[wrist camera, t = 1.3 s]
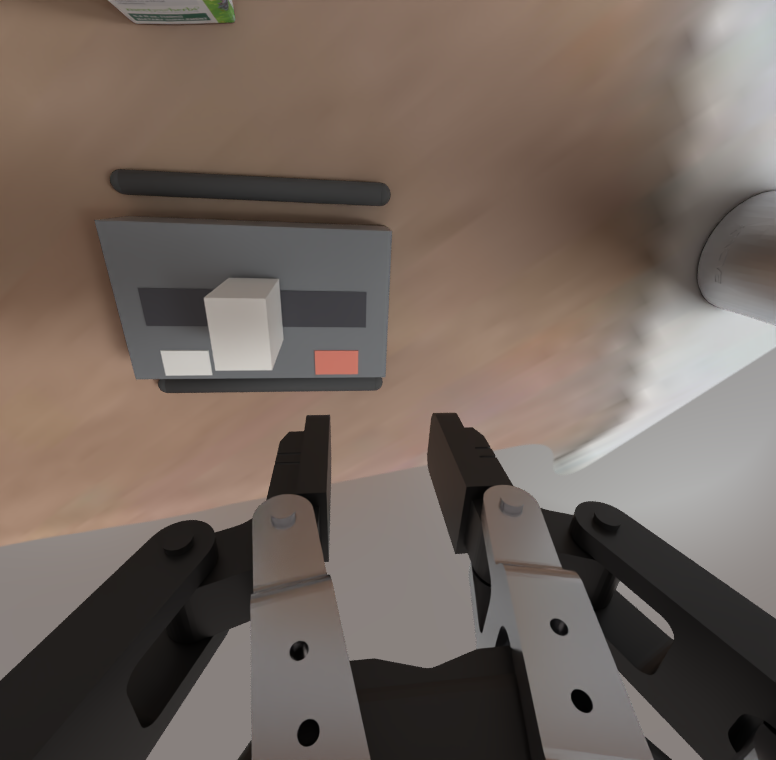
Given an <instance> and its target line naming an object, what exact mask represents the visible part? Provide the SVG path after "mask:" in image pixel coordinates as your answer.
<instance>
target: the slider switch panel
mask: <svg viewBox="0 0 776 760" xmlns="http://www.w3.org/2000/svg"><path fill="white" fill-rule="evenodd" d="M110 182H111V185H112V186H113V188H114V189H115V190H116V191H118V192H119V193H122V194H126V195H148V196H170V197H192V198H215V199H237V200H259V201H281V202H304V203H326V204H348V205H371V206H383V205H385V204H386V203H388V201H389V199H390V195H391V194H390V190H389V188H388V186H387V185H385V184H383V183H374V182H355V181H336V180H317V179H298V178H278V177H259V176H240V175H221V174H201V173H182V172H163V171H144V170H125V169H118V170H115V171H113V172H112V174H111V176H110ZM382 383H383V381H382V378H381V377H347V378H226V379H160V380H159V382H158V386H159V388H160V390H161V391H163V392H165V393H209V392H290V391H371V390H378V389H379V388H380V387H381V386H382Z"/></svg>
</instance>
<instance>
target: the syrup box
mask: <svg viewBox="0 0 776 760" xmlns="http://www.w3.org/2000/svg"><path fill="white" fill-rule="evenodd" d="M108 1H109V2H110V3H111V4H113V5H114V6H115V7H116V8H117V9H118V10H119V11H120V12H122V13H123V14H124V15H125V16H126V17H127V18H129V19H130V20H131V21H132V22H134V23H136V24H199V23H225V22H230V23H232V22H235V15H234V9H233V3H232V0H108Z"/></svg>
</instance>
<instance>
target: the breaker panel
mask: <svg viewBox="0 0 776 760" xmlns="http://www.w3.org/2000/svg"><path fill="white" fill-rule="evenodd" d="M95 224H96V228H97V232H98V236H99V239H100V243H101V247H102V251H103V255H104V259H105V262H106V266H107V270H108V274H109V278H110V282H111V285H112V289H113V293H114V297H115V301H116V305H117V308H118V312H119V316H120V320H121V324H122V328H123V331H124V335H125V339H126V343H127V347H128V351H129V354H130V358H131V362H132V366H133V370H134V374H135V377H136V379H226V378H347V377H385V374H386V352H387V330H388V308H389V286H390V264H391V242H392V231H391V230H390V229H389V228H387V227H386V226H376V225H350V224H324V223H298V222H272V221H247V220H221V219H195V218H169V217H143V216H124V217H116V218H108V219H100V220H95ZM228 278H267V279H279V286H280V299H281V312H282V325H283V339H284V340H283V342H282V345H281V348H280V350H279V353H278V356H277V358H276V361H275V364H274V367H273V369H272V370H235V371H215V365H214V359H213V352H212V346H211V340H210V334H209V328H208V321H207V315H206V309H205V303H204V297H205V296H207V295H208V294H209V293H210V292H212V291H213V290H214V289H215V288H217V287H218V286H219V285H220V284H222V283H223V282H224V281H225V280H227V279H228Z"/></svg>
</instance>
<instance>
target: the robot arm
mask: <svg viewBox="0 0 776 760" xmlns="http://www.w3.org/2000/svg"><path fill="white" fill-rule="evenodd" d="M698 283H699V288H700V290H701V293H702V295H703V296H704V297H705V299H706V300H707V301H708V302H709V303H711V304H712V305H714V306H716V307H719V308H722V309H725V310H728V311H732V312H735V313H738V314H741V315H744V316H748V317H751V318H754V319H757V320H760V321H763V322H766V323H769V324H772V325H776V190H775V191H770V192H764V193H761V194H759V195H756V196H754V197H751V198H749V199H748V200H746V201H744V202H743V203H741V204H740V205H738V206H737V207H736V208H734V209H733V210H732V211H731V212H730V213H729V214H727V215H726V216H725V218H724V219H723V220H722V221H721V222H720V223H719V224H718V225H717V227H716V228H715V230H714V231H713V233H712V234H711V236H710V237H709V239H708V241H707V243H706V245H705V247H704V249H703V251H702V254H701V258H700V261H699V266H698ZM427 461H428V469H429V473H430V476H431V479H432V482H433V486H434V489H435V492H436V495H437V498H438V501H439V505H440V508H441V511H442V514H443V517H444V520H445V523H446V526H447V529H448V533H449V536H450V539H451V542H452V545H453V548H454V551H455V554H462V553H468V555H469V557H470V560H471V563H470V569H469V582H470V592H471V601H472V610H473V618H474V628H475V637H476V650H474V651H472V652H469V653H467V654H464V655H462V656H460V657H458V658H455V659H453V660H450V661H448V662H445V663H443V664H441V665H439V666H436V667H433V668H422V667H416V666H411V665H406V664H401V663H394V662H390V661H384V660H379V659H364V660H354V661H349V657H348V653H347V649H346V643H345V639H344V634H343V629H342V625H341V620H340V615H339V611H338V606H337V602H336V597H335V592H334V588H333V583H332V580H331V577H330V575H327V572H326V568H325V563H324V562H328V561H329V533H330V497H331V496H330V495H331V430H330V415H307V416H306V423H305V430H304V431H298V432H289V433H288V434H287V435H286V436H285V437H284V438H283V439H282V440H281V441H280V444H279V448H278V452H277V457H276V461H275V465H274V469H273V474H272V478H271V482H270V487H269V491H268V495H267V500H266V501H265V502H263V503H262V504H261V505H259V507H258V508H257V509H256V510H255V512H254V514H253V518H252V519H250V520H249V521H247V522H245V523H243V524H241V525H238V526H235V527H232V528H229V529H225V530H222V531H219V532H215V533H214V530H213V528H212V527H211V526H210V525H209V524H207V523H205V522H202V521H197V520H187V521H181V522H178V523H175V524H172V525H170V526H168V527H166V528H164V529H162V530H160V531H159V532H158V533H156V534H155V535H154V536H153V537H152V538H151V539H150V540H148V541H147V542H146V543H145V544H144V545H143V546H142V547H141V548H140V549H139V550H138V551H137V552H136V553H135V554H134V555H133V556H131V557H130V558H129V559H128V560H127V561H126V562H125V563H124V564H123V565H122V566H121V567H120V568H119V569H118V570H117V571H116V572H115V573H114V574H112V576H110V577H109V578H108V579H107V580H106V581H105V582H104V583H103V584H102V585H101V586H100V587H99V588H98V589H97V590H96V591H95V592H94V593H92V594H91V596H90V597H88V598H87V599H86V600H85V601H84V602H83V603H82V604H81V605H80V606H79V607H78V608H77V609H76V610H75V611H73V612H72V613H71V614H70V615H69V616H68V617H67V618H66V619H65V620H64V621H63V622H62V623H61V624H60V625H59V626H58V627H57V628H56V629H55V630H53V631H52V632H51V633H50V634H49V635H48V636H47V637H46V638H45V639H44V640H43V641H42V642H41V643H40V644H39V645H38V646H37V647H36V648H35V649H33V650H32V651H31V652H30V653H29V654H28V655H27V656H26V657H25V658H24V659H23V660H22V661H21V662H20V663H19V664H18V665H17V666H16V667H15V668H13V669H12V670H11V671H10V672H9V673H8V674H7V675H6V676H5V677H4V678H3V679H2V680H1V681H0V760H146V758H147V757H148V755H149V754H150V752H151V750H152V749H153V747H154V746H155V744H156V743H157V741H158V740H159V738H160V737H161V735H162V734H163V732H164V731H165V729H166V727H167V726H168V724H169V723H170V721H171V720H172V718H173V717H174V715H175V714H176V712H177V711H178V709H179V707H180V706H181V704H182V703H183V701H184V699H185V698H186V697H187V695H188V693H189V692H190V690H191V689H192V687H193V686H194V684H195V683H196V681H197V680H198V678H199V677H200V675H201V674H202V672H203V670H204V669H205V667H206V666H207V664H208V663H209V661H210V660H211V658H212V656H213V655H214V653H215V652H216V650H217V649H218V647H219V646H220V644H221V643H222V641H223V640H224V638H225V636H226V635H227V633H228V631H229V629H231V628H233V627H236V626H238V625H241V624H243V623H246V622H248V621H251V725H252V728H251V729H252V740H251V741H250V743H249V744H248V746H247V747H246V748H245V750H244V751H243V753H242V754H241V755H240V757H239V758H238V760H672V759H670V758H669V757H668V756H667V755H666V754H664V753H663V752H662V751H661V750H660V749H659V748H657V747H656V746H655V745H654V744H653V743H652V742H651V741H649V740H648V739H647V738H646V737H645V736H644V734H643V732H642V729H641V727H640V724H639V721H638V719H637V716H636V714H635V712H634V709H633V707H632V704H631V702H630V699H629V697H628V694H627V692H626V689H625V687H624V685H623V682H622V679H621V677H620V674H619V672H620V673H621V674H622V675H623V676H624V677H625V678H626V679H627V680H628V681H629V682H630V684H631V685H632V686H634V688H635V689H636V690H637V691H638V692H639V693H640V694H641V695H642V696H643V697H644V698H645V699H646V700H647V701H648V702H649V703H650V704H651V705H652V706H653V708H654V709H655V710H656V711H657V712H658V713H659V714H660V715H661V716H662V717H663V718H664V719H665V720H666V721H667V722H668V723H669V724H670V725H671V726H672V727H673V728H674V729H675V730H676V732H678V734H679V735H680V736H681V737H682V738H683V739H684V740H685V741H686V742H687V743H688V744H689V745H690V746H691V747H692V748H693V749H694V750H695V751H696V752H697V753H698V754H699V755H700V757H701V758H702V759H703V760H776V619H775V618H774V617H772V616H771V615H769V614H768V613H767V612H765V611H764V610H762V609H761V608H759V607H758V606H756V605H755V604H753V603H752V602H751V601H749V600H748V599H747V598H745V597H744V596H742V595H741V594H739V593H738V592H737V591H735V590H734V589H732V588H730V587H729V586H728V585H727V584H725V583H724V582H722V581H721V580H719V579H718V578H717V577H715V576H714V575H712V574H711V573H709V572H708V571H707V570H705V569H704V568H702V567H701V566H699V565H698V564H696V563H695V562H694V561H692V560H691V559H689V558H688V557H686V556H685V555H684V554H682V553H681V552H679V551H678V550H676V549H675V548H674V547H672V546H671V545H669V544H668V543H666V542H665V541H664V540H662V539H661V538H659V537H658V536H656V535H655V534H654V533H652V532H651V531H649V530H648V529H646V528H645V527H644V526H642V525H641V524H639V523H638V522H636V521H635V520H633V519H632V518H631V517H629V516H628V515H626V514H625V513H623V512H622V511H620V510H618V509H617V508H615V507H613V506H610V505H608V504H605V503H601V502H593V501H592V502H591V501H588V502H583V503H581V504H579V505H578V506H577V507H576V509H575V512H574V515H569V514H565V513H559V512H554V511H549V510H545V509H542V508H540V506H539V504H538V502H537V501H536V499H535V498H534V497H533V496H531V495H530V494H529V493H527V492H526V491H524V490H522V489H520V488H517V487H514V486H513V485H512V483H511V481H510V480H509V478H508V476H507V474H506V473H505V471H504V469H503V468H502V466H501V464H500V463H499V461H498V459H497V458H495V454H494V452H493V451H492V449H490V446H489V444H488V442H487V440H486V439H485V437H484V436H483V435H482V434H480V433H479V432H478V431H476V430H475V429H474V428H473V427H470V428H464V426H463V424H462V422H461V421H460V419H459V417H458V415H457V414H456V413H433V414H432V417H431V425H430V434H429V444H428V453H427ZM619 581H621V582H622V583H624V584H625V585H626V586H627V587H628V588H629V589H630V590H632V591H633V592H634V593H635V594H636V595H638V596H639V597H640V598H641V599H642V600H644V601H645V602H646V603H647V604H648V605H649V606H651V607H652V608H653V609H654V610H655V611H656V612H658V613H659V614H660V615H661V616H662V617H663V618H664V619H665V620H666V621H667V622H668V624H669V625H670V627H671V629H672V631H673V634H674V640H673V639H671V638H670V637H669V636H668V635H667V634H665V633H664V632H663V631H662V630H661V629H660V628H659V627H657V626H656V625H655V624H654V623H653V622H652V621H651V620H649V619H648V618H647V617H646V616H645V615H644V614H642V613H641V612H640V611H639V610H638V609H637V608H635V606H633V605H632V604H631V603H630V602H629V601H627V599H625V598H624V597H623V596H622V595H621V594H620V593H619V592H617V591H616V588H617V586H618V583H619ZM618 671H619V672H618Z"/></svg>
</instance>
